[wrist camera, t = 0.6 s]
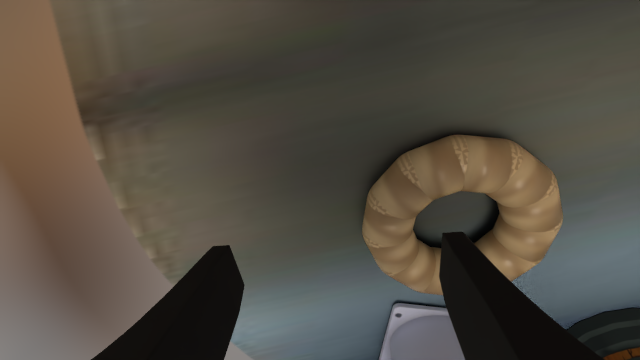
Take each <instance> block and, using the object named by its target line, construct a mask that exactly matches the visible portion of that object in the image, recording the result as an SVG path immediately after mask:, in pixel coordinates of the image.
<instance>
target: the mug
mask: <svg viewBox="0 0 640 360" xmlns="http://www.w3.org/2000/svg"><path fill="white" fill-rule="evenodd" d="M567 331H568V332H569V333H570V334H572V335H573V336H574V337H575V338H577V339H578V340H579V341H580V342H582V343H583V344H584V345H586V346H587V347H589V348H590V349H591V350H593V351H594V352H595V353H597V354H598V355H599V356H601V357H602V358H603V359H605V360H640V308H630V309H624V310H617V311H611V312H604V313H602V314H599V315H596V316H594V317H591V318H588V319H586V320H583V321H581V322H578V323H577V324H575V325H574V326H572V327H571V328H570V329H568V330H567Z"/></svg>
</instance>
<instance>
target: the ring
mask: <svg viewBox="0 0 640 360" xmlns="http://www.w3.org/2000/svg"><path fill="white" fill-rule="evenodd" d="M459 191H467V192H478V193H485V194H487V195H488V196H489V197H491V198H492V199H494V200H495V201H497V204H498V208H499V211H500V214H499V216H498V218H497V221H496V223H495V225H494V228H493V229H492V230H491V231H489V232H488V233H487V234H485V235H484V236H483V237H482V238H480V239H479V240H478V241H477V242H475V243H474V244H475V245H476V247H477V248H478V249H479V250H480V251H481V252H482V253H483V254H484V255H485V256H486V257H487V258H488V259H489V260H490V261H491V262H492V263H493V264H494V265H495V266H496V268H497V269H498V270H499V271H500V272H501V273H503V274H504V275H505V276H506V277H507V278H508V279H509V280H510V281H511V282H512V281H513V280H514V279H516V278H517V277H519V276H520V275H522V274H523V273H525V272H526V271H528V270H529V269H531V268H532V267H534V266H535V265H537V264H538V263H539V262H540V261H541V260H542V259H543V258H544V256H545V254H546V253H547V251H548V249H549V247H550V245H551V244H552V242H553V240H554V238H555V236H556V235H557V233H558V231H559V229H560V227H561V225H562V222H563V212H562V207H561V201H560V195H559V189H558V184H557V180H556V177H555V175H554V173H553V172H552V171H551V170H550V169H549V168H548V167H547V166H546V165H544V164H543V163H542V162H540V161H539V160H538V159H537V158H535V157H534V156H533V155H531V154H530V153H529V152H527V151H526V150H525V149H524V148H522V147H521V146H520V145H518V144H517V143H515V142H513V141H511V140H507V139H502V138H492V137H480V136H469V135H451V136H447V137H444V138H442V139H439V140H437V141H434V142H431V143H429V144H426V145H424V146H421V147H418V148H416V149H413V150H411V151H408V152H406V153H404V154H402V155H401V156H400V157H398V158H397V159H396V161H395V162H394V163H393V164H392V165H391V166H390V167H389V168H388V169H387V170H386V172H385V173H384V174H383V175H382V176H381V177H380V178H379V179H378V180H377V182H376V183H375V184H374V185H373V186H372V187H371V189H370V191H369V193H368V196H367V202H366V208H365V214H364V220H363V226H362V233H363V238H364V240H365V242H366V244H367V246H368V248H369V250H370V252H371V253H372V255H373V257H374V259H375V261H376V263H377V265H378V266H379V268H380V269H381V270H382V271H383V272H384V273H385V274H387V275H388V276H390V277H392V278H393V279H395V280H397V281H399V282H400V283H402V284H404V285H406V286H407V287H409V288H411V289H413V290H415V291H417V292H421V293H428V294H437V295H443V292H442V288H441V284H440V279H439V271H440V258H441V248H435V247H429V246H428V245H426V244H424V243H423V242H421V241H419V240H418V239H417V238H416V236H415V233H414V231H413V227H414V223H415V219H416V216H417V215H418V214H419V213H420V212H421V211H422V210H423V209H424V208H425V207H426V206H427V205H428V204H429V203H430V202H432V201H433V200H434V199H437V198H440V197H443V196H446V195H449V194H452V193H455V192H459Z"/></svg>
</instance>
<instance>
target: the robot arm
mask: <svg viewBox="0 0 640 360" xmlns="http://www.w3.org/2000/svg"><path fill="white" fill-rule="evenodd" d="M439 279H440V284H441V288H442V292H443V296H444V300H445V304H446V308H440V307H431V306H422V305H413V304H404V303H397V304H395V305H393V307H392V311H391V315H390V319H389V322H388V326H387V330H386V334H385V337H384V341H383V345H382V349H381V353H380V356H379V360H605V359H603V358H602V357H601V356H599V355H598V354H597V353H595V352H594V351H593V350H591V349H590V348H589V347H587V346H586V345H584V344H583V343H582V342H580V341H579V340H578V339H577V338H575V337H574V336H573V335H572V334H570V333H569V332H568V331H567V330H565V329H564V328H563V327H562V326H560V325H559V324H558V323H557V322H555V321H554V320H553V319H552V318H551V317H549V316H548V315H547V314H546V313H545V312H544V311H542V310H541V309H540V308H539V307H538V306H537V305H536V304H535V303H533V302H532V301H531V300H530V299H529V298H528V297H527V296H526V295H524V294H523V293H522V292H521V291H520V290H519V289H518V288H517V287H516V286H515V285H514V284H513V283H512V282H511V281H510V280H509V279H508V278H507V277H506V276H505V275H504V274H503V273H501V272H500V271H499V270H498V269H497V268H496V266H495V265H494V264H493V263H492V262H491V261H490V260H489V259H488V258H487V257H486V256H485V255H484V254H483V253H482V252H481V251H480V250H479V249H478V248H477V247H476V245H475V244H474V243H473V242H472V241H471V240H470V239H469V238H468V237H467V236H466V234H464V233H463V232H451V233H443V234H442V246H441V258H440V271H439ZM243 290H244V282H243V280H242V277H241V275H240V272H239V269H238V267H237V264H236V261H235V259H234V256H233V253H232V251H231V248H230V246H229V245H226V246H213V247H212V248H211V249H210V250H209V251H208V252H207V253H206V254H205V255H204V256H203V257H202V258H201V259H200V260H199V261H198V262H197V263H196V264H195V265H194V266H193V267H192V268H191V269H190V270H189V272H188V273H187V274H186V275H185V276H184V277H183V278H182V279H181V280H180V281H179V282H178V283H177V284H176V285H175V286H174V287H173V288H172V289H171V290H170V291H169V292H168V293H167V294H166V295H165V296H164V297H163V298H162V299H161V300H160V301H159V302H158V303H157V304H156V305H155V306H154V307H152V308H151V309H150V310H149V311H148V312H147V313H146V314H145V315H144V316H143V317H142V318H141V319H140V320H139V321H138V322H136V323H135V324H134V325H133V326H132V327H131V328H130V329H128V330H127V331H126V332H125V333H124V334H123V335H121V336H120V337H119V338H118V339H117V340H115V341H114V342H113V343H112V344H111V345H109V346H108V347H107V348H106V349H104V350H103V351H102V352H101V353H99V354H98V355H97V356H95V357H94V358H93V359H91V360H224V357H225V354H226V351H227V348H228V345H229V342H230V339H231V336H232V333H233V330H234V327H235V324H236V321H237V318H238V315H239V311H240V306H241V301H242V296H243Z"/></svg>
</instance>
